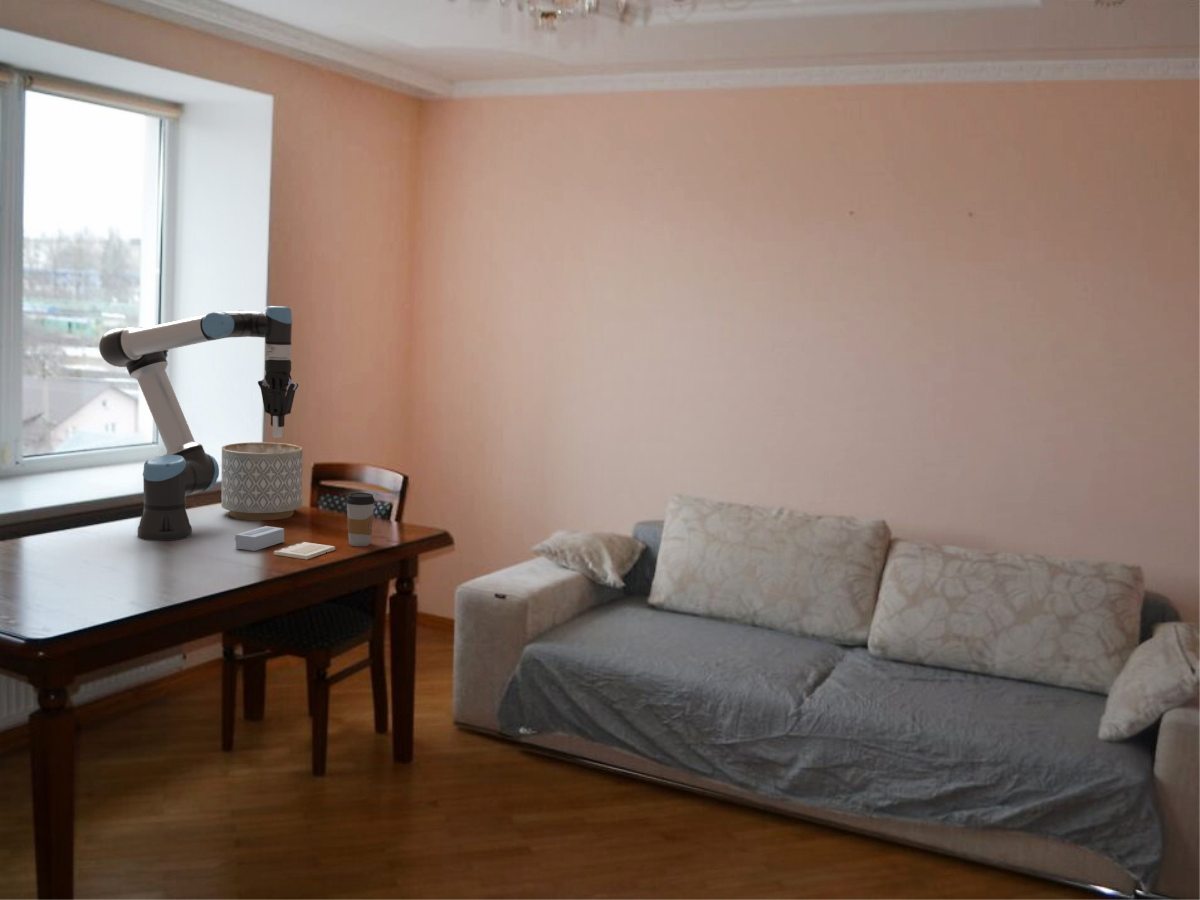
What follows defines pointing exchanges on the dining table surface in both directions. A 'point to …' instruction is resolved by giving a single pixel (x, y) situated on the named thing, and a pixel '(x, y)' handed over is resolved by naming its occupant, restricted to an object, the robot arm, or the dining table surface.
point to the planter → (261, 480)
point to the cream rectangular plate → (304, 550)
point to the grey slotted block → (259, 538)
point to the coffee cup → (360, 518)
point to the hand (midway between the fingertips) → (277, 437)
